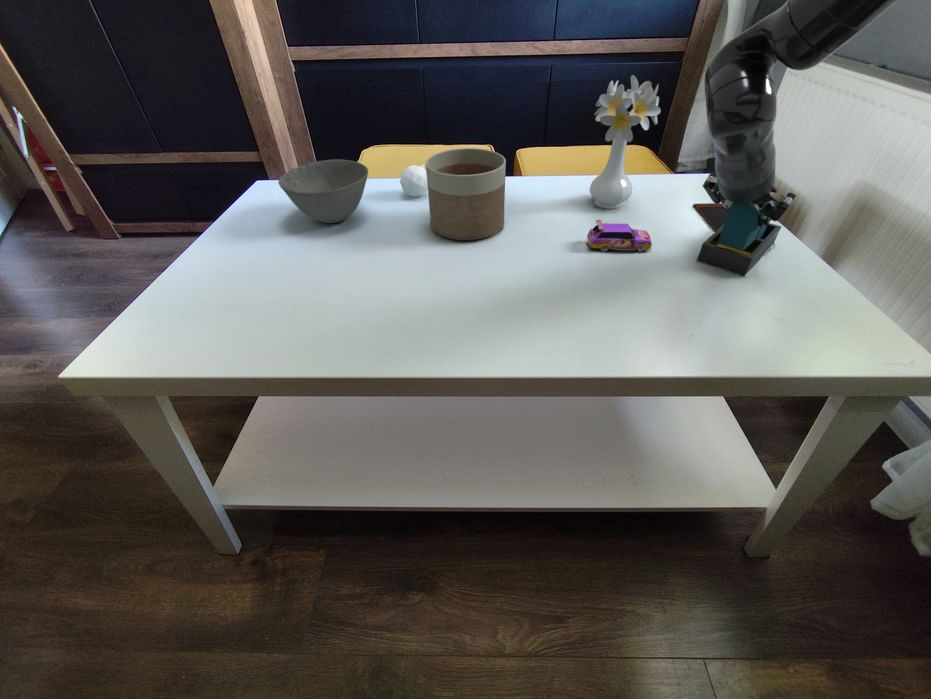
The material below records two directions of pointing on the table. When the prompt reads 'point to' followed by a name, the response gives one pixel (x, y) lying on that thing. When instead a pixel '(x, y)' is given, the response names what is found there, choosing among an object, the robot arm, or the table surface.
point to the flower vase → (621, 137)
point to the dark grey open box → (736, 251)
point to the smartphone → (712, 214)
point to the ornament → (414, 181)
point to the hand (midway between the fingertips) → (748, 217)
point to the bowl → (326, 188)
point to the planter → (466, 193)
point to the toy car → (618, 237)
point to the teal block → (739, 227)
